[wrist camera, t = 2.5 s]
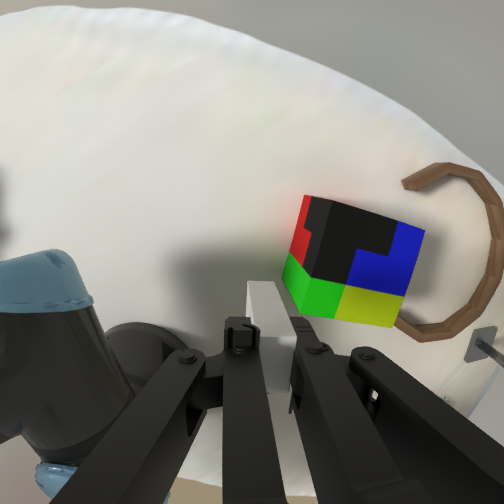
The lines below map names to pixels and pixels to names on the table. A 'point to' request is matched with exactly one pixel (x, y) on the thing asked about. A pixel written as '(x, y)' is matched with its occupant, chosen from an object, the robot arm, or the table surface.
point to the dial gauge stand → (483, 346)
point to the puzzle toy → (350, 262)
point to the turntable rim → (499, 258)
